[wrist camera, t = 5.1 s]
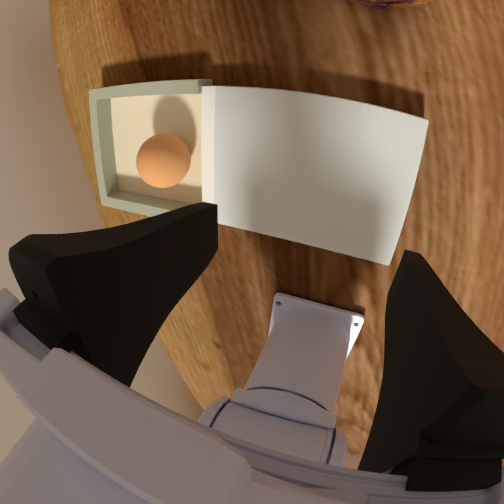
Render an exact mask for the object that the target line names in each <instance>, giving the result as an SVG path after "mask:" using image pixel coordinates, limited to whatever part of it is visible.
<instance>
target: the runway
mask: <svg viewBox="0 0 504 504" xmlns="http://www.w3.org/2000/svg"><path fill="white" fill-rule="evenodd" d="M428 122H429V120H427V119H425V118H422V117H419V116H416V115H412V114H409V113H405V112H402V111H398V110H394V109H390V108H386V107H382V106H378V105H374V104H370V103H365V102H360V101H355V100H350V99H345V98H340V97H334V96H328V95H322V94H315V93H308V92H301V91H292V90H283V89H273V88H261V87H245V86H215V85H213V86H202V118H201V160H202V202H207V203H212V204H217V205H218V223H219V224H223V225H227V226H231V227H236V228H240V229H244V230H248V231H253V232H257V233H261V234H265V235H269V236H273V237H277V238H281V239H286V240H290V241H294V242H298V243H302V244H306V245H310V246H314V247H318V248H322V249H326V250H330V251H334V252H338V253H342V254H345V255H349V256H353V257H357V258H361V259H365V260H369V261H373V262H376V263H380V264H384V265H388V266H389V265H390V262H391V259H392V256H393V253H394V251H395V248H396V245H397V242H398V239H399V236H400V233H401V230H402V226H403V223H404V220H405V217H406V213H407V210H408V207H409V203H410V200H411V196H412V192H413V189H414V185H415V181H416V177H417V173H418V169H419V165H420V161H421V156H422V152H423V147H424V142H425V137H426V132H427V127H428Z"/></svg>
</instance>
